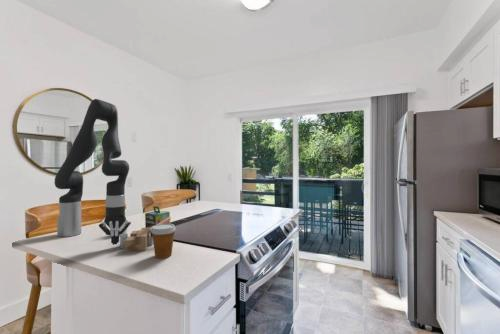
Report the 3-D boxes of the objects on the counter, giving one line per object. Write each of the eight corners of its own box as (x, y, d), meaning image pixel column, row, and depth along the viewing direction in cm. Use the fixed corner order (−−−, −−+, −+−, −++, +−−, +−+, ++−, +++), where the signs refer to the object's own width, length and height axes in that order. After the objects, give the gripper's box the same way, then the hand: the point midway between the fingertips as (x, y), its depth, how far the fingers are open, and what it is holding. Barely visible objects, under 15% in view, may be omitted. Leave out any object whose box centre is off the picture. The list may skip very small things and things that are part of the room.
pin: (120, 249, 103) (120, 237, 103) (122, 244, 109) (122, 234, 109) (152, 246, 108) (152, 235, 107) (153, 242, 113) (153, 231, 113)
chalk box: (170, 233, 128) (170, 205, 128) (155, 237, 120) (155, 208, 120) (159, 230, 133) (159, 204, 133) (144, 234, 125) (144, 206, 125)
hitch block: (124, 252, 100) (124, 237, 100) (132, 241, 114) (132, 228, 114) (145, 250, 102) (145, 236, 102) (150, 239, 116) (150, 227, 116)
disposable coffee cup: (161, 262, 90) (161, 230, 90) (145, 256, 95) (145, 227, 95) (180, 254, 98) (180, 225, 98) (165, 249, 103) (165, 222, 103)
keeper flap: (149, 233, 107) (147, 231, 106) (150, 230, 111) (149, 228, 111) (171, 220, 109) (169, 218, 109) (171, 218, 114) (170, 215, 113)
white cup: (123, 236, 121) (123, 223, 121) (111, 235, 122) (111, 222, 122) (132, 232, 128) (132, 220, 128) (121, 232, 129) (121, 219, 129)
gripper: (133, 203, 110) (133, 240, 111) (101, 204, 107) (101, 242, 107) (129, 206, 103) (129, 245, 103) (95, 206, 100) (95, 247, 100)
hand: (115, 243), depth 105 cm, fingers closed
